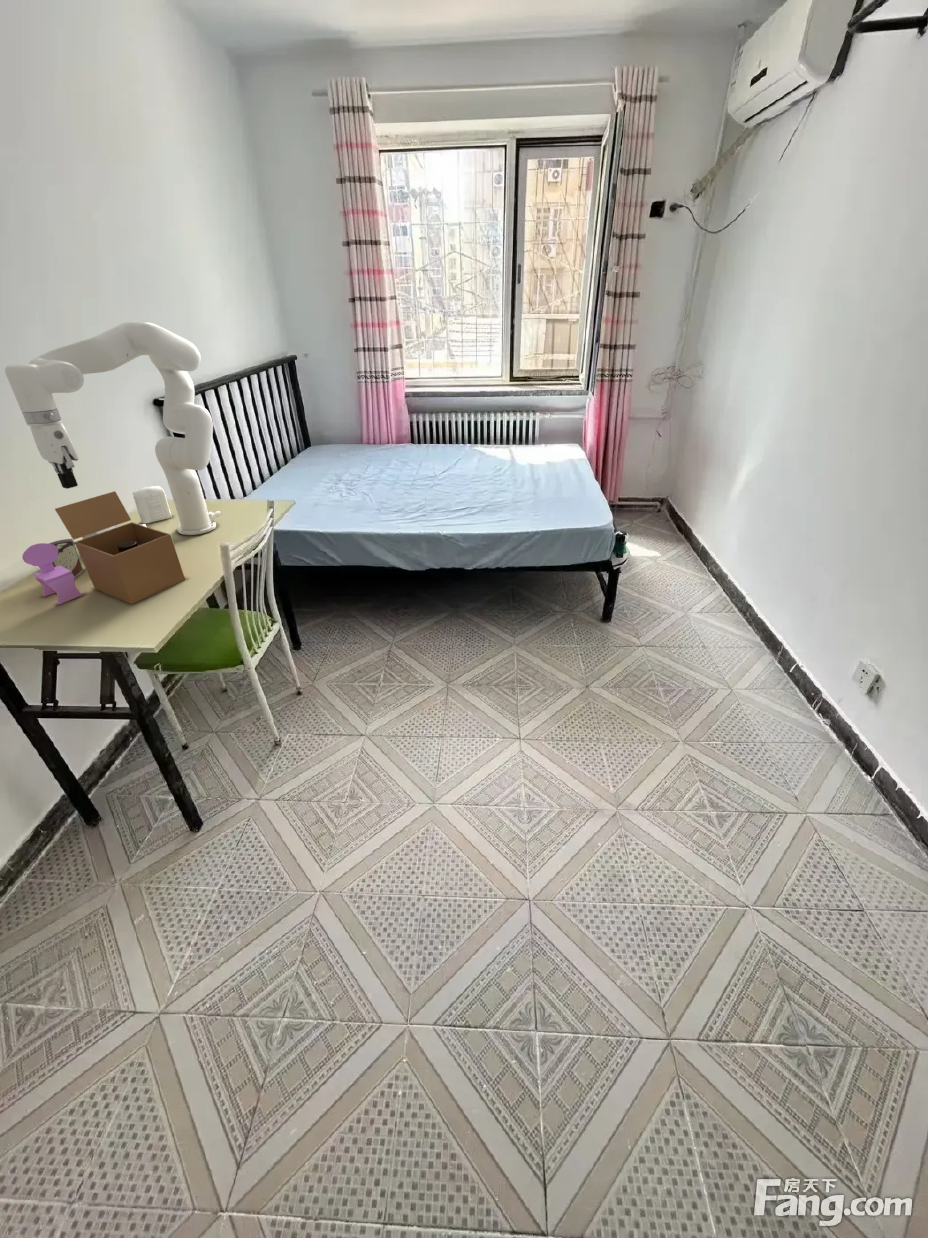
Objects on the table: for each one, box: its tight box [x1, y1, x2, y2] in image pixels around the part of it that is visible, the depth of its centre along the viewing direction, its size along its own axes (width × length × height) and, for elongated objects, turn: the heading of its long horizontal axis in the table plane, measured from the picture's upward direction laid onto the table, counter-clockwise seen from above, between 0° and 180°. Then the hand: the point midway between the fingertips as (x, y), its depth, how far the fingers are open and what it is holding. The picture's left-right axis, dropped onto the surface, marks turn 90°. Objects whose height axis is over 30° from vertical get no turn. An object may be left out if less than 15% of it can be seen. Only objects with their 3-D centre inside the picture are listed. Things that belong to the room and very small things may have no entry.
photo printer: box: [132, 485, 173, 525], centre depth 189 cm, size 10×4×12 cm, turn 134°
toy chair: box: [22, 542, 83, 606], centre depth 141 cm, size 8×9×15 cm
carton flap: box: [54, 490, 132, 541], centre depth 145 cm, size 9×16×1 cm
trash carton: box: [74, 521, 186, 605], centre depth 147 cm, size 18×16×14 cm
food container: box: [47, 538, 84, 579], centre depth 151 cm, size 12×6×10 cm, turn 5°
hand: (70, 486), depth 144 cm, fingers closed
